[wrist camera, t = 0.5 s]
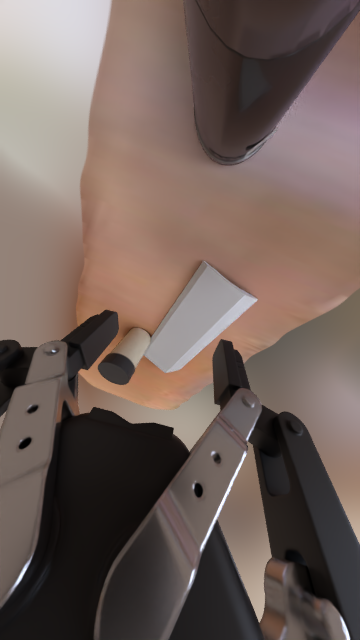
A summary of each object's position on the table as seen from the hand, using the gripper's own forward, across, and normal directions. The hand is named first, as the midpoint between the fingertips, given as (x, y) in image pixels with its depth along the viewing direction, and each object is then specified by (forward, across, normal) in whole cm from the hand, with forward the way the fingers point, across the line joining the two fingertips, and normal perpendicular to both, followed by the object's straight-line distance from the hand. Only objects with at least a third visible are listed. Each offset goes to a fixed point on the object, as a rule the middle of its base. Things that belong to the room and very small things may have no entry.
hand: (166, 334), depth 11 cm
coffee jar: (+19, +9, +20) cm, 29 cm away
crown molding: (+19, -3, +13) cm, 23 cm away
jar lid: (+8, +10, +20) cm, 24 cm away
